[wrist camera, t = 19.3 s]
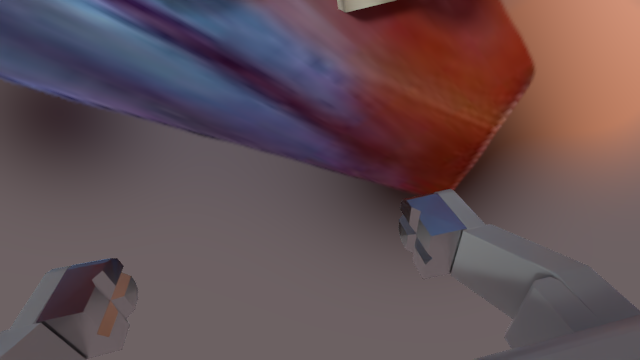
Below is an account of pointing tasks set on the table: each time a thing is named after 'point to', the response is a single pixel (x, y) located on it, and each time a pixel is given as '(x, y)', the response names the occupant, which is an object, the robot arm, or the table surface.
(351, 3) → the birch block
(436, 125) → the table surface
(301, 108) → the table surface
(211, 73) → the table surface
